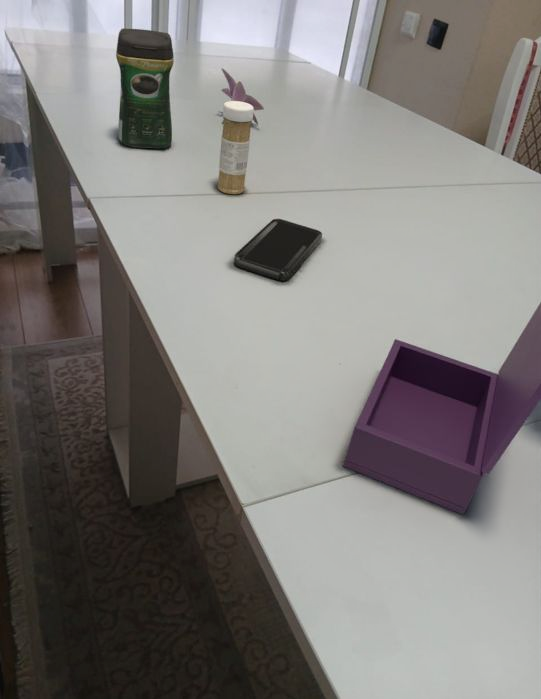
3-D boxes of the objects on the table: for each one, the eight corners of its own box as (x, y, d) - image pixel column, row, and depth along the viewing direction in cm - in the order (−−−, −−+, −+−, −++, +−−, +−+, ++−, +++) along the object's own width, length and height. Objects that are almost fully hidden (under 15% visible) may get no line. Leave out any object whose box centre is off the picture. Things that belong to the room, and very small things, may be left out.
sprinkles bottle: (237, 183, 100) (246, 99, 92) (249, 194, 97) (259, 109, 89) (212, 185, 98) (219, 99, 90) (223, 196, 95) (231, 109, 87)
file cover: (555, 362, 39) (564, 365, 39) (559, 271, 50) (566, 274, 50) (480, 471, 46) (488, 475, 46) (498, 370, 57) (504, 373, 57)
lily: (260, 140, 123) (280, 95, 121) (209, 112, 118) (229, 65, 116) (243, 139, 133) (261, 97, 131) (196, 113, 128) (214, 70, 126)
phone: (231, 257, 77) (275, 217, 88) (230, 265, 77) (274, 224, 89) (288, 275, 75) (325, 232, 86) (287, 283, 75) (323, 239, 87)
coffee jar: (170, 137, 114) (174, 29, 102) (172, 152, 107) (176, 38, 96) (118, 133, 111) (116, 22, 100) (117, 148, 105) (114, 31, 94)
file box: (342, 466, 52) (354, 426, 49) (383, 375, 63) (395, 338, 60) (462, 515, 49) (483, 476, 46) (483, 411, 60) (500, 374, 58)
